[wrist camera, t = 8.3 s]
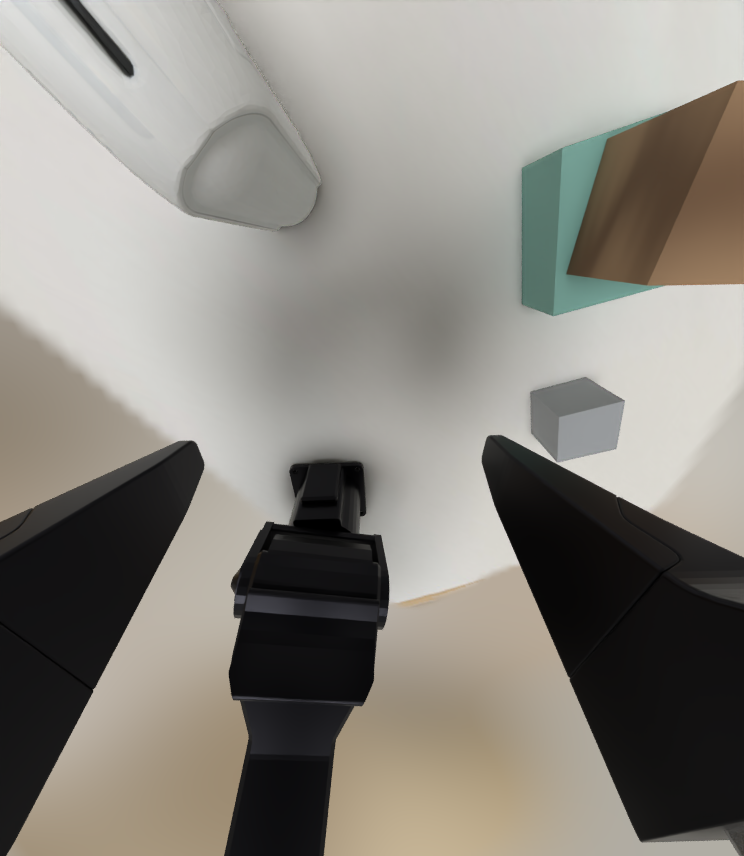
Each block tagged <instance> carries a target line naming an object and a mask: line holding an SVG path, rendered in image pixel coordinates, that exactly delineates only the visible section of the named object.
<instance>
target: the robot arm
mask: <svg viewBox="0 0 744 856" xmlns="http://www.w3.org/2000/svg"><path fill="white" fill-rule="evenodd" d="M482 465H483V468H484V472H485V475H486V479H487V482H488V485H489V489H490V492H491V495H492V499H493V502H494V505H495V508H496V510H497V513H498V515H499V517H500V520H501V522H502V524H503V526H504V529H505V531H506V533H507V536H508V538H509V540H510V543H511V545H512V547H513V550H514V552H515V554H516V557H517V559H518V561H519V564H520V566H521V568H522V571H523V573H524V575H525V577H526V580H527V582H528V584H529V587H530V589H531V591H532V593H533V596H534V598H535V601H536V603H537V605H538V608H539V610H540V612H541V615H542V617H543V619H544V621H545V624H546V626H547V628H548V631H549V633H550V635H551V637H552V640H553V642H554V645H555V647H556V649H557V651H558V654H559V656H560V659H561V661H562V663H563V666H564V668H565V670H566V672H567V675H568V677H570V682H571V685H572V687H573V689H574V692H575V694H576V696H577V698H578V701H579V703H580V705H581V708H582V710H583V712H584V715H585V717H586V719H587V722H588V724H589V726H590V729H591V731H592V733H593V736H594V738H595V740H596V743H597V745H598V747H599V749H600V752H601V754H602V756H603V759H604V761H605V763H606V766H607V768H608V770H609V772H610V775H611V777H612V780H613V782H614V784H615V787H616V789H617V791H618V794H619V796H620V798H621V800H622V803H623V805H624V807H625V810H626V812H627V814H628V817H629V819H630V821H631V823H632V826H633V828H634V830H635V832H636V834H637V836H638V838H639V840H640V841H641V842H672V841H705V840H707V841H708V840H730V841H731V843H732V844H733V846H734V848H735V850H736V851H737V853H738V854H739V856H744V557H742V556H739V555H737V554H735V553H733V552H731V551H729V550H727V549H724V548H722V547H720V546H718V545H716V544H714V543H712V542H710V541H707V540H705V539H703V538H701V537H699V536H697V535H695V534H692V533H690V532H688V531H686V530H684V529H682V528H680V527H678V526H675V525H674V524H672V523H669V522H667V521H665V520H663V519H661V518H659V517H657V516H655V515H653V514H651V513H649V512H647V511H645V510H643V509H641V508H639V507H638V506H636V505H634V504H632V503H630V502H628V501H626V500H624V499H622V498H620V497H616V495H615V494H613V493H611V492H609V491H607V490H605V489H603V488H601V487H599V486H597V485H596V484H594V483H592V482H590V481H588V480H586V479H584V478H582V477H580V476H578V475H577V474H575V473H573V472H571V471H569V470H567V469H565V468H563V467H561V466H559V465H558V464H556V463H554V462H552V461H550V460H548V459H546V458H544V457H542V456H540V455H539V454H537V453H535V452H533V451H531V450H529V449H527V448H525V447H523V446H521V445H520V444H518V443H516V442H514V441H512V440H510V439H508V438H506V437H504V436H502V435H490V436H488V437H487V439H486V442H485V446H484V450H483V455H482ZM356 468H360V469H356ZM203 470H204V461H203V458H202V456H201V453H200V451H199V448H198V446H197V444H196V443H195V442H194V441H178V442H176V443H174V444H171V445H169V446H167V447H165V448H163V449H160V450H158V451H156V452H154V453H152V454H149V455H147V456H145V457H143V458H141V459H138V460H136V461H134V462H132V463H129V464H127V465H125V466H123V467H121V468H118V469H116V470H114V471H112V472H110V473H107V474H105V475H103V476H101V477H99V478H96V479H94V480H92V481H90V482H88V483H85V484H83V485H81V486H79V487H77V488H74V489H72V490H70V491H68V492H66V493H64V494H61V495H59V496H57V497H55V498H52V499H50V500H48V501H46V502H44V503H42V504H39V505H37V506H35V507H34V509H33V508H31V509H28V510H26V511H24V512H21V513H19V514H17V515H15V516H13V517H11V518H8V519H6V520H4V521H2V522H0V856H6V855H7V853H8V852H9V850H10V849H11V847H12V845H13V843H14V842H15V840H16V838H17V836H18V834H19V832H20V830H21V829H22V827H23V825H24V823H25V821H26V819H27V817H28V815H29V813H30V811H31V810H32V808H33V806H34V804H35V802H36V800H37V798H38V796H39V794H40V792H41V790H42V789H43V787H44V785H45V782H46V781H47V779H48V777H49V775H50V773H51V771H52V769H53V768H54V766H55V764H56V762H57V760H58V758H59V756H60V754H61V752H62V750H63V748H64V746H65V745H66V743H67V741H68V739H69V737H70V735H71V733H72V731H73V729H74V727H75V725H76V724H77V721H78V719H79V718H80V716H81V714H82V712H83V710H84V708H85V706H86V704H87V703H88V701H89V699H90V697H91V695H92V693H93V690H92V689H94V688H95V687H96V685H97V683H98V681H99V679H100V677H101V675H102V673H103V671H104V670H105V668H106V666H107V664H108V662H109V660H110V658H111V656H112V654H113V652H114V651H115V649H116V647H117V645H118V643H119V641H120V639H121V637H122V635H123V633H124V631H125V630H126V628H127V626H128V624H129V622H130V620H131V618H132V616H133V614H134V612H135V610H136V609H137V607H138V605H139V603H140V601H141V599H142V597H143V595H144V593H145V591H146V589H147V588H148V586H149V584H150V582H151V580H152V578H153V576H154V574H155V572H156V570H157V568H158V566H159V565H160V563H161V561H162V559H163V557H164V555H165V553H166V551H167V549H168V548H169V546H170V544H171V542H172V540H173V538H174V536H175V534H176V532H177V530H178V528H179V526H180V525H181V523H182V521H183V519H184V517H185V515H186V513H187V510H188V508H189V506H190V503H191V501H192V498H193V496H194V493H195V491H196V488H197V485H198V483H199V480H200V478H201V475H202V473H203ZM294 470H297V471H294ZM289 472H290V476H291V481H292V485H293V489H294V493H295V497H296V501H295V504H294V508H293V511H292V515H291V518H290V522H289V525H281V524H274V522H266V523H265V525H264V528H263V529H262V530H260V532H259V534H258V536H257V538H256V539H255V541H254V543H253V545H252V547H251V549H250V551H249V553H248V555H247V556H246V558H245V560H244V563H243V564H242V566H241V568H240V569H239V570H238V572H237V573H236V574H235V576H234V577H233V579H232V582H231V588H232V590H233V592H234V593H235V599H234V601H235V602H234V617H235V618H241V620H240V625H239V629H238V633H237V638H236V642H235V646H234V650H233V655H232V661H231V665H230V669H229V681H230V687H231V695H232V698H233V700H240V702H241V706H242V710H243V714H244V718H245V722H246V726H247V730H248V734H249V740H248V745H247V750H246V755H245V759H244V764H243V769H242V774H241V779H240V783H239V788H238V793H237V797H236V802H235V807H234V812H233V817H232V821H231V826H230V831H229V835H228V840H227V845H226V850H225V854H224V856H324V847H325V837H326V827H327V817H328V808H329V798H330V788H331V778H332V768H333V758H334V749H335V742H336V738H337V737H338V735H339V733H340V731H341V729H342V727H343V726H344V724H345V722H346V720H347V719H348V717H349V715H350V713H351V711H352V709H353V708H354V706H362V705H363V704H364V702H365V700H366V698H367V696H368V693H369V691H370V689H371V687H372V684H373V681H374V664H375V652H376V641H377V629H378V630H382V629H383V628H384V625H385V622H386V618H387V613H388V604H389V575H388V569H387V564H386V558H385V553H384V548H383V543H382V538H381V535H376V534H374V535H365V534H359V525H360V516H364V515H365V514H366V501H365V486H364V471H363V465H362V464H361V463H331V464H303V465H293V466H291V468H290V471H289ZM360 511H362V512H360Z"/></svg>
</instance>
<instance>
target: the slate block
mask: <svg viewBox="0 0 744 856" xmlns="http://www.w3.org/2000/svg"><path fill="white" fill-rule="evenodd" d="M624 403H625V401H624V400H623V399H621V398H619V397H618V396H616V395H614V394H613V393H611V392H609V391H608V390H606V389H605V388H603V387H601V386H600V385H598V384H596V383H595V382H593V381H591V380H590V379H588V378H586V377H584V378H581V379H577V380H573V381H569V382H566V383H562V384H558V385H554V386H551V387H547V388H543V389H539V390H536V391H532V392H531V433H532V434H533V435H534V437H535V438H536V439H537V440H538V441H539V442H540V443H541V445H542V446H543V447H544V448H545V449H546V450H547V451H548V453H549V454H550V455H551V456H552V457H553V458H554V459H555V461H556V462H561V461H566V460H570V459H575V458H579V457H583V456H588V455H592V454H597V453H601V452H605V451H610V450H614V449H616V448H617V442H618V437H619V431H620V426H621V420H622V414H623V409H624Z"/></svg>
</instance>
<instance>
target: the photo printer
mask: <svg viewBox="0 0 744 856" xmlns="http://www.w3.org/2000/svg"><path fill="white" fill-rule="evenodd" d="M0 45H1V46H2V47H3V48H4V49H5V50H6V51H7V52H8V53H9V54H10V55H11V56H12V57H13V58H14V59H15V60H16V61H17V62H18V63H19V64H20V65H21V66H22V67H23V68H24V69H25V70H26V71H27V72H28V73H29V74H30V75H31V76H32V77H33V78H34V79H35V80H36V81H37V82H38V83H39V84H40V85H41V86H42V87H43V88H44V89H45V90H46V91H47V92H48V93H49V94H50V95H51V96H52V97H53V98H54V99H55V100H56V101H57V102H58V103H59V104H60V105H61V106H62V107H63V108H64V109H65V110H66V111H67V112H68V113H69V114H70V115H71V116H72V117H73V118H74V119H75V120H76V121H77V122H78V123H79V124H80V125H81V126H82V127H83V128H85V129H86V130H87V131H88V132H89V133H90V134H91V135H92V136H93V137H94V138H95V139H96V140H97V141H98V142H99V143H100V144H101V145H103V146H104V147H105V148H106V149H107V150H108V151H109V152H110V153H111V154H112V155H113V156H114V157H115V158H116V159H118V160H119V161H120V162H121V163H122V164H123V165H124V166H125V167H126V168H128V169H129V170H130V171H131V172H132V173H133V174H134V175H136V176H137V177H138V178H139V179H140V180H142V181H143V182H144V183H145V184H146V185H148V186H149V187H150V188H152V189H153V190H154V191H155V192H156V193H158V194H159V195H160V196H162V197H163V198H165V199H166V200H167V201H168V202H170V203H171V204H173V205H174V206H176V207H177V208H178V209H180V210H181V211H183V212H184V213H186V214H188V215H190V216H193V217H199V218H204V219H208V220H214V221H219V222H224V223H230V224H234V225H239V226H245V227H251V228H256V229H262V230H269V231H278V230H279V229H280V227H281V226H293V225H296V224H298V223H300V222H302V221H303V220H304V219H306V217H307V216H308V215H309V214H310V212H311V211H312V209H313V207H314V204H315V201H316V197H317V188H318V187H319V186H320V185H321V183H322V182H321V178H320V175H319V173H318V170H317V168H316V166H315V163H314V161H313V159H312V157H311V155H310V153H309V151H308V149H307V148H306V146H305V144H304V143H303V141H302V139H301V138H300V136H299V133H298V131H297V129H296V128H295V127H294V126H293V124H292V123H291V121H290V119H289V118H288V116H287V114H286V113H285V111H284V110H283V108H282V106H281V105H280V103H279V102H278V100H277V98H276V97H275V95H274V94H273V92H272V90H271V89H270V87H269V86H268V84H267V83H266V81H265V79H264V78H263V76H262V75H261V73H260V71H259V70H258V68H257V67H256V65H255V63H254V62H253V60H252V58H251V57H250V55H249V53H248V52H247V50H246V49H245V47H244V45H243V44H242V42H241V40H240V39H239V37H238V35H237V34H236V32H235V30H234V29H233V27H232V24H231V22H230V19H229V17H228V15H227V13H226V12H225V10H224V9H223V8H222V7H221V6H220V4H219V3H218V2H217V0H0Z"/></svg>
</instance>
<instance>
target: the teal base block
mask: <svg viewBox="0 0 744 856" xmlns="http://www.w3.org/2000/svg"><path fill="white" fill-rule="evenodd" d="M668 112H669V111H668ZM665 113H666V112H665ZM663 114H664V113H663ZM660 115H662V114H660ZM660 115H657V116H660ZM657 116H654V117H651V118H648V119H645V120H642V121H639V122H636V123H634V124H631V125H628V126H625V127H622V128H619V129H616V130H613V131H610V132H607V133H605V134H602V135H599V136H596V137H593V138H590V139H587V140H584V141H581V142H578V143H575V144H573V145H570V146H567V147H564V148H561V149H559V150H557V151H555V152H553V153H551V154H549V155H547V156H545V157H543V158H541V159H539V160H537V161H535V162H533V163H531V164H529V165H527V166H525V167H523V168H522V304H523V305H525V306H528V307H531V308H533V309H536V310H538V311H541V312H544V313H546V314H549V315H552V316H556V315H559V314H563V313H567V312H570V311H574V310H578V309H581V308H585V307H589V306H592V305H596V304H600V303H603V302H607V301H611V300H614V299H618V298H622V297H625V296H629V295H633V294H636V293H640V292H644V291H647V290H651V289H654V288H658V287H662V286H665V285H657V286H646V285H639V284H632V283H624V282H617V281H610V280H603V279H596V278H589V277H582V276H575V275H567V274H566V273H567V270H568V267H569V263H570V260H571V257H572V253H573V250H574V247H575V243H576V240H577V237H578V234H579V230H580V227H581V224H582V220H583V217H584V214H585V211H586V207H587V204H588V201H589V197H590V194H591V191H592V188H593V184H594V181H595V178H596V174H597V171H598V168H599V164H600V161H601V158H602V155H603V151H604V148H605V145H606V141H607V139H608V138H610V137H612V136H615V135H617V134H619V133H621V132H624V131H626V130H628V129H630V128H633V127H635V126H637V125H639V124H642V123H644V122H646V121H648V120H651V119H653V118H655V117H657Z"/></svg>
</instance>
